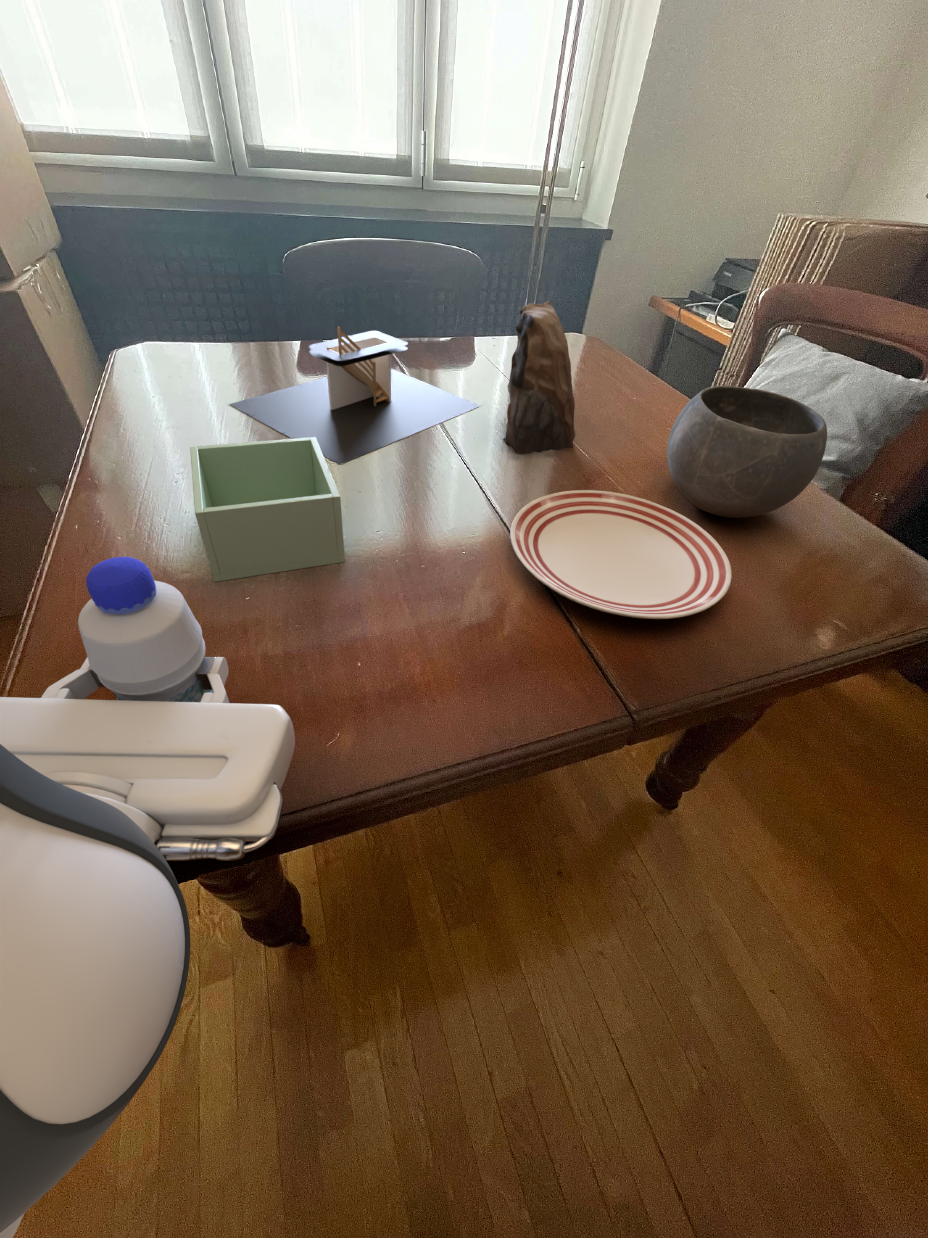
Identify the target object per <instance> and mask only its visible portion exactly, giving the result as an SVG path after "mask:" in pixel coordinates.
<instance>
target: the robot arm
mask: <svg viewBox="0 0 928 1238" xmlns="http://www.w3.org/2000/svg"><path fill="white" fill-rule="evenodd" d="M83 661H84V662H83V663H82V665H81V666H80V668H79V669H75V670H74V671H73V672H70V673H69V674H67V675H66V676H64V677H63V678H61V679H59V680H58V681H55V682H54V683H52V684H51V685H49V686H47V688H46V689H45V690H44V692H43V693H42V694H41V697H18V696H17V697H15V696H13V697H11V696H0V1238H14V1236H15V1234H16V1233H17V1230H18V1228H19V1226H20V1224H21V1222H22V1220H23V1219H24V1216H25V1214H26V1213H27V1211H28V1210H29V1209H31V1208H32V1206H34V1205H35V1204H36V1203H37V1202H38V1201H39V1200H40V1199H41V1198H43V1197H44V1196H45V1195H46V1194H47V1193H48V1192H49V1191H50V1190H52V1189H53V1187H55V1186H56V1185H57V1184H58V1183H59V1182H60V1181H61V1180H62V1179H63V1178H64V1177H65V1176H66V1175H67V1174H68V1173H69V1172H70V1171H71V1170H72V1169H73V1168H74V1167H75V1166H76V1165H77V1164H78V1163H79V1162H80V1160H82V1159H83V1158H84V1157H85V1155H87V1153H88V1152H89V1151H90V1150H92V1148H93V1147H94V1146H95V1145H96V1143H97V1142H98V1141H99V1140H100V1139H101V1138H102V1136H104V1134H105V1133H106V1132H107V1131H108V1130H109V1129H110V1128H111V1126H112V1125H113V1124H114V1123H115V1121H116V1120H117V1119H118V1118H119V1116H120V1115H121V1114H122V1113H123V1112H124V1110H125V1109H126V1108H127V1106H128V1105H129V1104H130V1102H131V1101H132V1099H133V1098H134V1097H135V1096H136V1095H137V1093H138V1091H139V1090H140V1088H141V1087H142V1085H143V1084H144V1083H145V1081H146V1079H147V1078H148V1077H149V1075H150V1074H151V1072H152V1070H153V1069H154V1067H155V1066H156V1065H157V1062H158V1060H159V1059H160V1057H161V1055H162V1053H163V1052H164V1050H165V1048H166V1046H167V1044H168V1041H169V1040H170V1037H171V1035H172V1033H173V1030H174V1028H175V1025H176V1023H177V1020H178V1017H179V1014H180V1011H181V1008H182V1004H183V1001H184V996H185V993H186V989H187V983H188V978H189V970H190V963H191V962H190V961H191V960H190V959H191V929H190V928H191V927H190V919H189V913H188V908H187V905H186V900H185V899H184V895H183V892H182V890H181V888H180V886H179V882H178V880H177V879H176V878H177V877H176V876H175V874H174V872H173V870H172V868H171V866H170V864H169V863H168V862H170V861H171V862H173V861H176V862H177V861H194V860H195V861H196V860H203V859H204V860H209V859H211V860H213V859H216V860H217V861H223V862H224V861H226V862H228V861H230V862H231V861H236V860H237V861H238V860H241V859H244V858H245V855H246V853H250V852H253V851H256V850H258V849H261V848H262V847H263V846H265V845H266V844H268V842H269V841H270V840H272V839H273V837H274V836H275V834H276V832H277V830H278V827H279V823H280V820H281V815H282V810H283V805H284V797H283V793H282V791H281V790H282V788H283V785H284V783H285V780H286V778H287V774H288V772H289V768H290V765H291V762H292V759H293V755H294V752H295V748H296V747H295V746H296V736H295V735H296V734H295V729H294V725H293V721H292V719H291V717H290V715H289V714H288V713H287V712H286V710H285V709H284V708H283V706H281V705H280V704H273V703H235V702H230V700H229V697H228V693H227V691H226V688H225V685H226V682H227V680H228V677H229V665H228V661H227V658H226V657H225V656H204V658H203V661H202V663H201V665H200V667H199V668H198V670H197V671H196V673H195V674H196V677H197V679H198V680H199V681H200V682H199V685H200V688H201V690H213V692H214V693H213V694H212V693H204V695H203V697H202V699H201V702H164V701H128V700H117V699H88V697H89V696H90V695H92V694H93V693H94V692H96V691H97V690H98V689H99V688H106V687H105V686H104V685H103V684H102V683H101V682H100V680H99V678H98V676H97V674H96V673H95V672H94V671H93V670H92V668H91V667H90V664H89V661H88V656H86V658H85V660H83ZM86 698H87V699H86ZM247 842H251V843H248V844H247Z"/></svg>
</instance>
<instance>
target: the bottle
mask: <svg viewBox="0 0 928 1238" xmlns="http://www.w3.org/2000/svg"><path fill="white" fill-rule="evenodd" d="M85 584H86V589H87V592H88V594H89V596H90V597H91V599H89V600H88V601H87V602H86V604H84V606H83V607H82V609H81V610H80V613H79V614H78V620H77V626H78V631H79V634H80V637H81V641H82V643H83V647H84V650H85V653H86V657H88V661H89V664H90V667H91V668H92V670H93V671H94V672H95V673H96V674H97V676H98V678H99V680H100V682H101V683H102V684H103V685H104V686H105V687H104V688H106V689H108V690H110V691H111V692H113V694H114V696H115V698H116V700H128V701H164V702H201V699H202V697H203V695H204V693H212V694H213V693H214V692H213V690H201V688H200V685H199V682H200V681H199V680H198V679H197V677H196V674H195V673H196V671H197V670H198V668H199V667H200V665H201V663H202V661H203V658H204V657H205V656H206V642H205V639H204V638H203V630H202V627H201V624H200V623H199V622H198V620H197V619H196V617H195V615H194V614H193V612H192V610H191V608H190V606H189V605H188V602H187V600H186V599H185V597H184V596H183V594H182V593H181V592H180V590H178V588H177V587H175V586H174V585H171V584H169V583H166V582H164V581H160V580H159V581H158V580H155V579H154V577H153V574H152V572H151V570H150V568H149V567H148V566H147V565H146V564H145V563H144V562H143V561H141V560H139V559H137V558H135V557H130V556H116V557H111V558H108V559H105V560H102V561H100V562H97V564H95V565H94V566H93V567H92V568H90V570H89V571H88V573H87V576H86V579H85Z"/></svg>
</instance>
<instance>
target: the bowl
mask: <svg viewBox="0 0 928 1238" xmlns="http://www.w3.org/2000/svg"><path fill="white" fill-rule="evenodd" d="M827 426H828V425H827V422H826V420H825V419H824V418H823V417H822V416H821V414H819V412H817V411H816V410H815V409H813V408H811V407H810V406H808V405H806V404H804V403H802V402H800V401H799V400H796V399H794V398H792V397H788V396H786V395H783V394H781V393H776V392H772V391H769V390H763V389H759V388H750V387H743V386H732V385H715V386H710V387H707V388H704V389H702V390H701V391H700V392H698V393H697V394H696V395H694V396H693V397H692V398H691V399H690V400H689V401H688V402H687V403H686V405H685V406H684V407H683V408H682V410H681V411H680V412H679V414H678V416H677V418H676V419H675V421H674V423H673V425H672V427H671V429H670V432H669V436H668V440H667V446H666V460H667V466H668V470H669V473H670V476H671V479H672V481H673V483H674V486H675V488H676V489H677V491H678V492H679V493H680V494H681V495H682V497H684V499H685V500H686V501H688V502H689V503H691V505H693V506H694V507H696V508H698V509H699V510H701V511H703V512H707V513H709V514H712V515H715V516H720V517H724V518H736V519H737V518H739V519H740V518H750V517H755V516H756V517H757V516H761V515H765V514H769V513H771V512H774V511H775V510H778V509H779V508H782V507H784V506H786V505H787V504H788V503H791V502H792V501H793V500H794V499H796V498H797V497H798V496H800V494H802V493H803V492H804V491H805V489H806V488H807V487H808V486H809V484H810V483H811V482H812V480H814V478H815V476H816V475H817V473H818V470H819V469H820V466H821V464H822V462H823V459H824V455H825V452H826V448H827V441H828V427H827Z"/></svg>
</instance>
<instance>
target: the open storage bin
mask: <svg viewBox="0 0 928 1238" xmlns="http://www.w3.org/2000/svg"><path fill="white" fill-rule="evenodd" d="M189 449H190V451H189V452H190V464H191V465H190V467H191V477H192V489H193V490H192V493H193V505H194V516H195V518H196V522H197V526H198V529H199V533H200V536H201V539H202V543H203V546H204V550H205V554H206V557H207V560H208V562H209V568H210V571H211V573H212V578H213V581H214V582H215V583H216V582H224V581H230V580H236V579H237V580H238V579H242V578H248V577H255V576H262V575H267V574H275V573H283V572H288V571H294V570H300V569H301V570H302V569H307V568H313V567H321V566H327V565H333V564H340V563H345V562H346V555H345V544H344V543H345V541H344V527H343V516H342V515H343V514H342V501H341V500H342V499H341V495H340V492H339V490H338V488H337V485H336V482H335V481H334V478H333V476H332V472H331V471H330V469H329V465H328V463H327V461H326V457H325V456H323V454H322V451H321V449H320V446H319V444H318V442H317V439H316V437H310V438H309V437H307V438H295V439H292V438H283V439H272V440H257V441H246V442H245V441H244V442H233V443H221V444H209V445H197V446H190V447H189Z"/></svg>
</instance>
